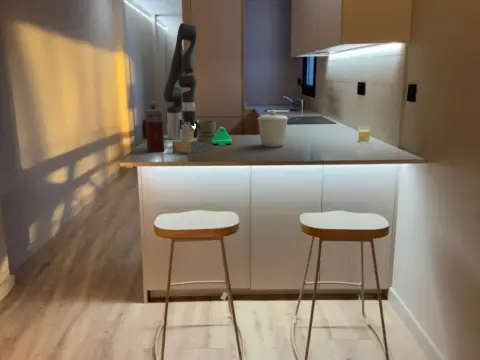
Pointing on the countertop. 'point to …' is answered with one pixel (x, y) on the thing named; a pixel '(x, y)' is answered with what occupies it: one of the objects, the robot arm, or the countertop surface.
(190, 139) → the supplement box
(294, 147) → the countertop surface
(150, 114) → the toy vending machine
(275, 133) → the canister
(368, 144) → the countertop surface
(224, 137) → the camera mount
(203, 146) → the rail
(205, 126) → the piston
